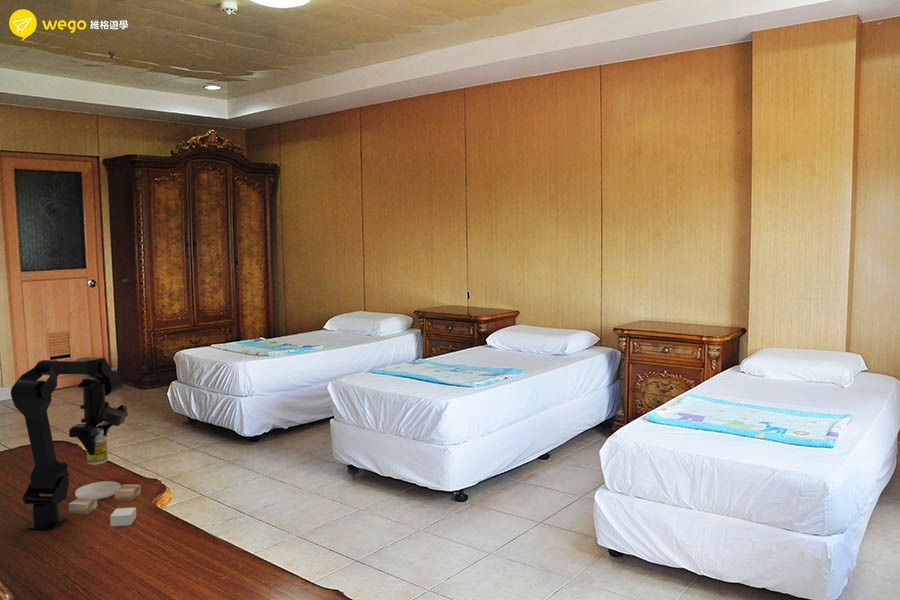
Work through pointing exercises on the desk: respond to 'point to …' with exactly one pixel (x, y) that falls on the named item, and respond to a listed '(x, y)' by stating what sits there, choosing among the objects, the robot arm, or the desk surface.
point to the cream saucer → (98, 490)
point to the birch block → (82, 505)
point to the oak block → (127, 492)
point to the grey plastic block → (123, 516)
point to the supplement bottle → (99, 450)
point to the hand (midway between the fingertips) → (96, 451)
